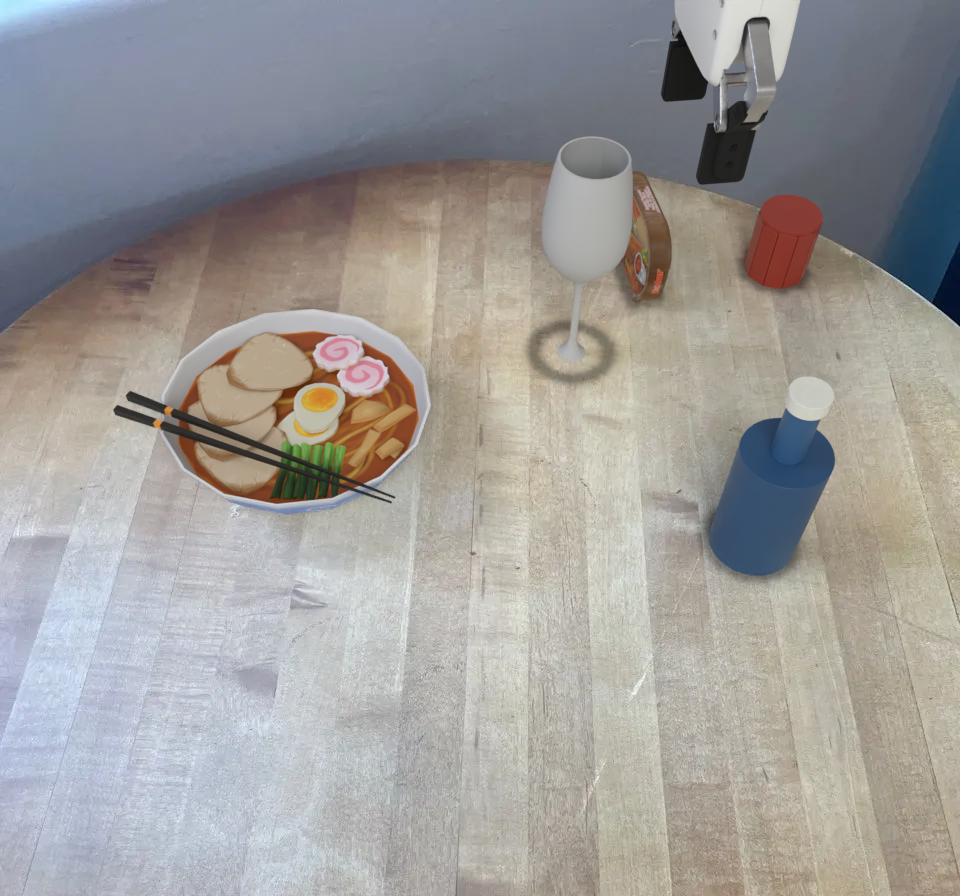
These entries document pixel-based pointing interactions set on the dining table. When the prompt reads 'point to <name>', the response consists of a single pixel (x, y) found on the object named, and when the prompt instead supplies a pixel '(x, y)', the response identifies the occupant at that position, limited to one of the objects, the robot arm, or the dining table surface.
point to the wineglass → (587, 218)
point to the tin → (647, 243)
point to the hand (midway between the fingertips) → (699, 138)
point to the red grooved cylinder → (783, 241)
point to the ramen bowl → (292, 410)
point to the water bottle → (775, 483)
